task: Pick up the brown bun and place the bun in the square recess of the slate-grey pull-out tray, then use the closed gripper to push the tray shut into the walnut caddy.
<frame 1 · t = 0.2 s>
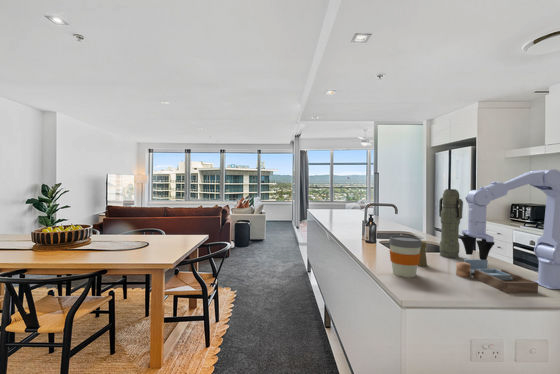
hand: (475, 256, 115), 10 cm above the counter, tool pointing down, fingers open, 7 cm apart
reusable coffee cup: (404, 274, 126), on the counter
tray: (487, 269, 123), point 3 cm above the counter, slide at 8.0 cm
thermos: (449, 256, 157), on the counter
caddy: (503, 284, 114), on the counter
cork: (419, 264, 140), on the counter
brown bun: (463, 275, 125), on the counter
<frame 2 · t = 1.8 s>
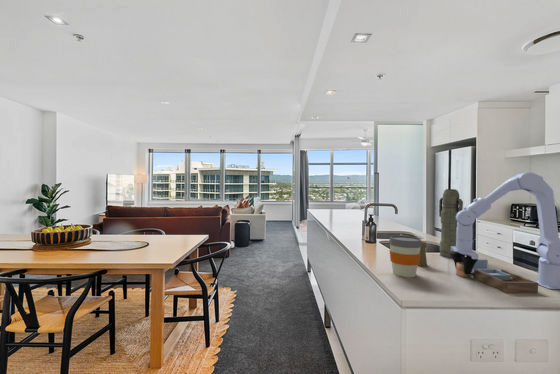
hand: (463, 272, 125), 1 cm above the counter, tool pointing down, fingers closed on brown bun, 5 cm apart
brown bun: (463, 275, 125), on the counter, touching gripper
everything else where it was.
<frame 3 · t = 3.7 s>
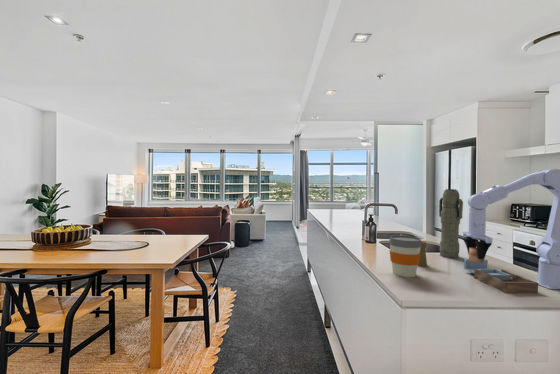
hand: (476, 257, 122), 8 cm above the counter, tool pointing down, fingers closed on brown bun, 5 cm apart
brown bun: (476, 260, 122), point 7 cm above the counter, touching gripper
everything else where it was.
when the fingers open (5 cm above the counter, at t = 5.2 s): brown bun drops 1 cm, resting on tray.
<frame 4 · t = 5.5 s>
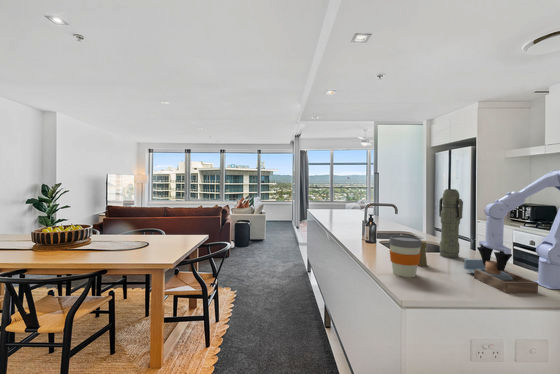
hand: (493, 267, 119), 5 cm above the counter, tool pointing down, fingers open, 7 cm apart
tray: (487, 269, 123), point 3 cm above the counter, slide at 8.0 cm, touching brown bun
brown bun: (492, 274, 119), point 2 cm above the counter, touching tray
everything else where it was.
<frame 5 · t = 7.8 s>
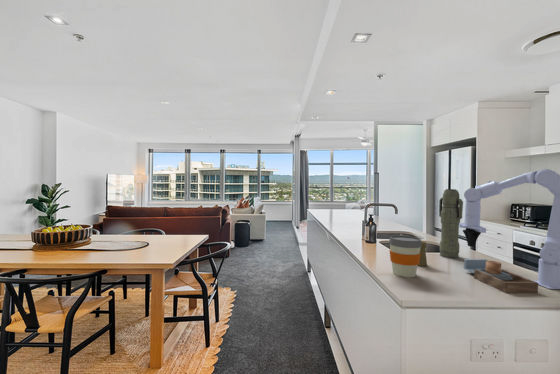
hand: (471, 246, 132), 11 cm above the counter, tool pointing down, fingers closed
nothing on the counter moved.
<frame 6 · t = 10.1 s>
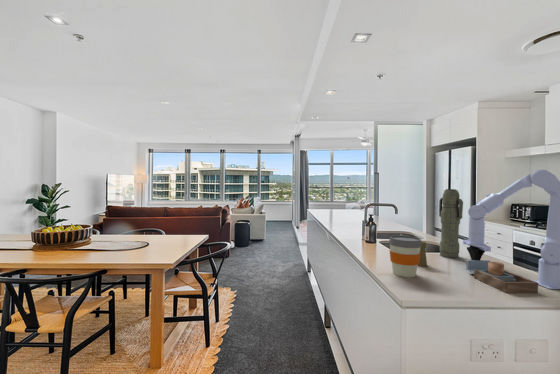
hand: (475, 264, 130), 3 cm above the counter, tool pointing down, fingers closed
tray: (490, 270, 121), point 3 cm above the counter, slide at 6.4 cm, touching gripper, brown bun
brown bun: (495, 276, 118), point 2 cm above the counter, touching tray
everything else where it was.
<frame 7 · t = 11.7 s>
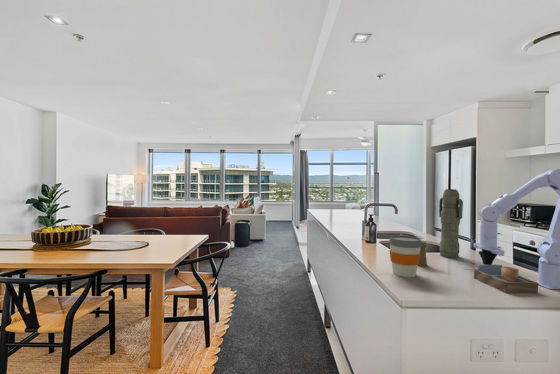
hand: (487, 269, 123), 3 cm above the counter, tool pointing down, fingers closed
tray: (502, 275, 115), point 3 cm above the counter, slide at -0.1 cm, touching gripper, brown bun
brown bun: (509, 281, 111), point 2 cm above the counter, touching tray
everything else where it was.
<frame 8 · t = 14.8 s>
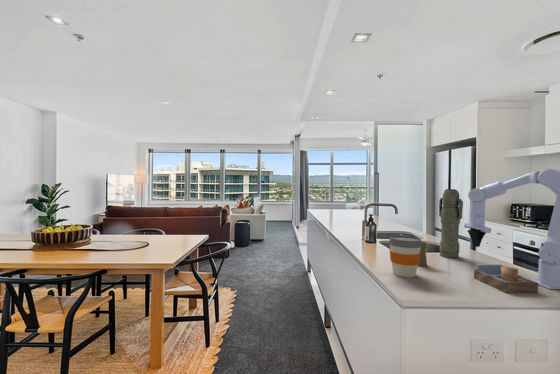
hand: (476, 246, 133), 10 cm above the counter, tool pointing down, fingers closed
tray: (502, 275, 115), point 3 cm above the counter, slide at 0.0 cm, touching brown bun
everything else where it was.
at the end: tray slide at 0.0 cm; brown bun inside the target area on the caddy (2.0 cm from its centre), point 2.1 cm above the caddy's base; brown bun tilted 2° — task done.
